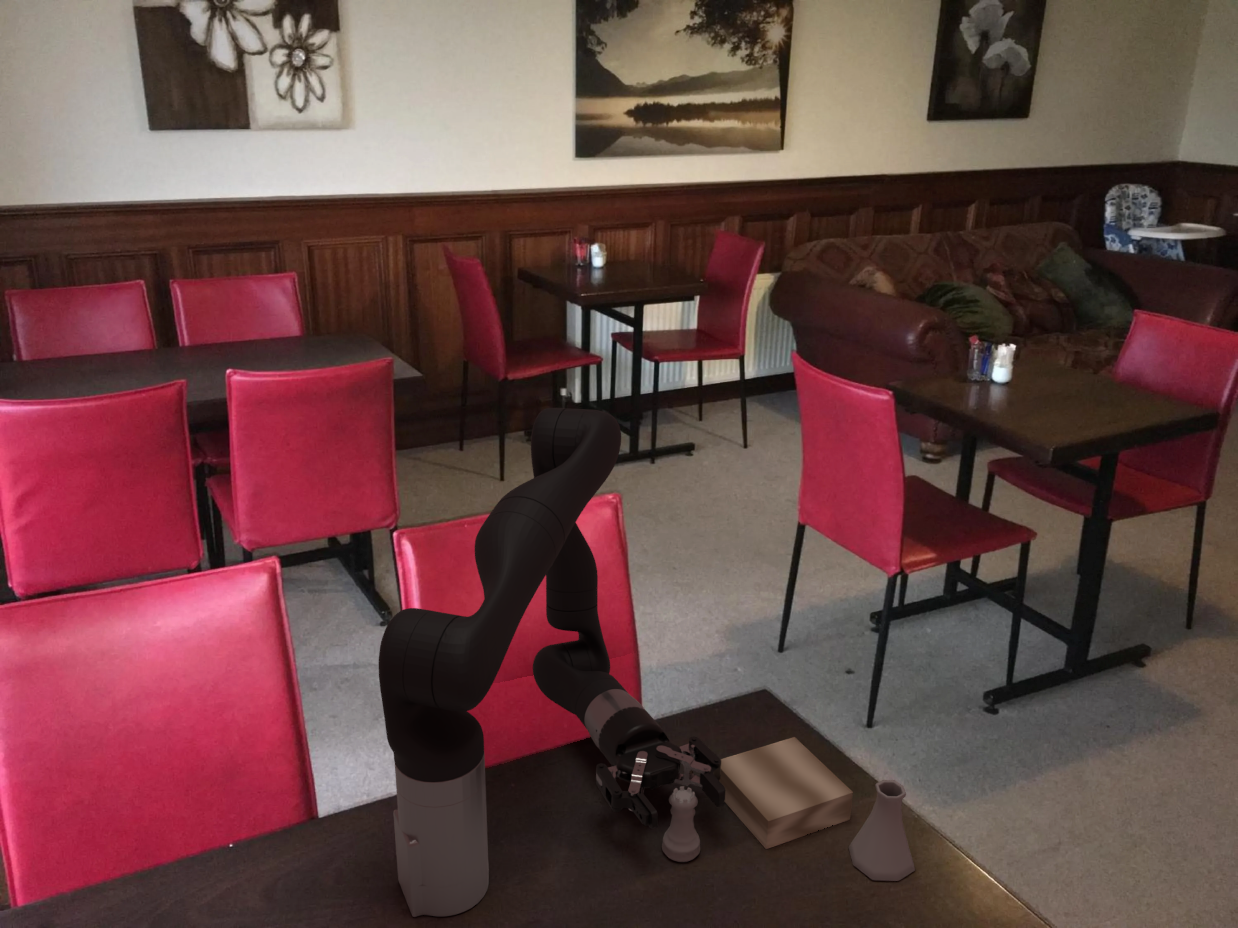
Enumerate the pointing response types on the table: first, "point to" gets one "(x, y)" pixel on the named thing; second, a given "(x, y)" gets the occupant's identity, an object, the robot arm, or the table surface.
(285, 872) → the table surface
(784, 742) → the maple plinth
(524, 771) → the table surface
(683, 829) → the rook chess piece
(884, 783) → the flask
